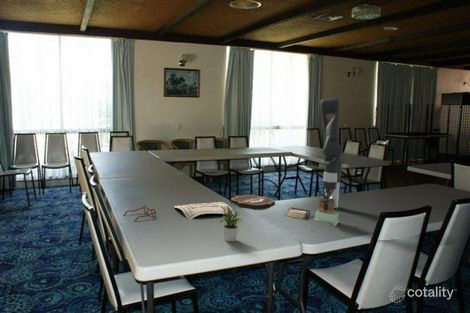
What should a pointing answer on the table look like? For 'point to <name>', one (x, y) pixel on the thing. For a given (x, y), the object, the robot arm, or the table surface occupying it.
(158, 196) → the table surface
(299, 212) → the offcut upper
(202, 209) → the poster
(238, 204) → the decorative plaque
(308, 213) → the offcut rack
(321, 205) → the walnut sheet
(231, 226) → the house plant
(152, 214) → the glasses
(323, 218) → the slotted stand
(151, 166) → the table surface
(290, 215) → the offcut lower
